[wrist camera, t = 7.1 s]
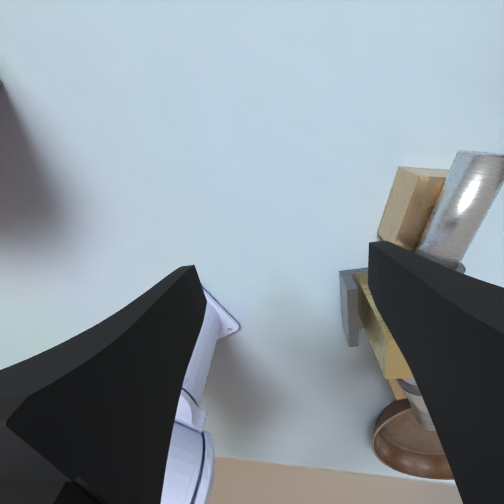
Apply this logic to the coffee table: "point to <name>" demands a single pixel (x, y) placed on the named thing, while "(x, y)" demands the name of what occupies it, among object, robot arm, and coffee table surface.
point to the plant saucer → (409, 444)
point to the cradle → (352, 302)
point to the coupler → (382, 339)
